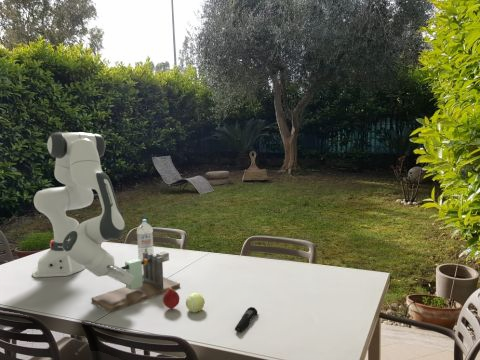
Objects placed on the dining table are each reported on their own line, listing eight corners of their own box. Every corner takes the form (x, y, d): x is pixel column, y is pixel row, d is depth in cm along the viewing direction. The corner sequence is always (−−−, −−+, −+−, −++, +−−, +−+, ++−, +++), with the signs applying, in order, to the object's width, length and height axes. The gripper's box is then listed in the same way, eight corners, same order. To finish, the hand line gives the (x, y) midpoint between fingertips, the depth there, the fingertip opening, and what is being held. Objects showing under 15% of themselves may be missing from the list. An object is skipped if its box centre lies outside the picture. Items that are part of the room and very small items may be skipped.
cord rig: (110, 312, 140) (108, 274, 139) (91, 301, 150) (89, 265, 148) (179, 287, 163) (178, 253, 161) (159, 278, 172) (158, 247, 171)
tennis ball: (196, 287, 145) (182, 293, 140) (209, 294, 141) (195, 300, 136) (194, 303, 146) (181, 309, 141) (207, 311, 142) (194, 317, 137)
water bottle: (156, 272, 181) (154, 218, 178) (151, 277, 174) (149, 221, 171) (141, 271, 182) (139, 218, 179) (136, 277, 175) (134, 221, 172)
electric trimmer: (231, 334, 125) (231, 325, 125) (248, 312, 139) (248, 304, 139) (242, 336, 124) (242, 326, 123) (258, 314, 138) (258, 305, 138)
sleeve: (131, 289, 152) (130, 263, 151) (126, 287, 154) (124, 261, 153) (142, 286, 156) (141, 260, 154) (137, 283, 158) (136, 258, 157)
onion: (182, 306, 144) (181, 285, 143) (174, 313, 139) (174, 291, 138) (168, 304, 146) (167, 283, 145) (160, 311, 141) (159, 289, 140)
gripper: (122, 262, 138) (147, 281, 147) (93, 250, 152) (117, 268, 161) (110, 278, 136) (137, 296, 144) (83, 264, 150) (108, 282, 158)
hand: (126, 281), depth 152 cm, fingers closed, pressing on sleeve
